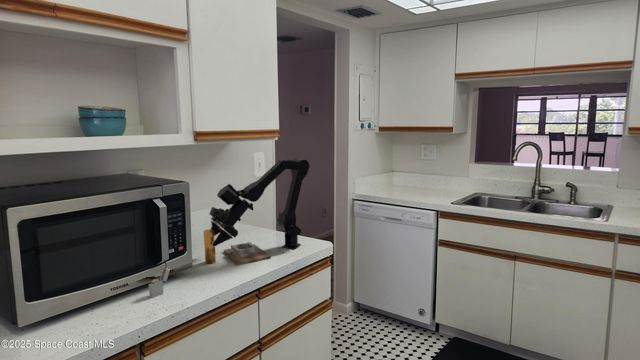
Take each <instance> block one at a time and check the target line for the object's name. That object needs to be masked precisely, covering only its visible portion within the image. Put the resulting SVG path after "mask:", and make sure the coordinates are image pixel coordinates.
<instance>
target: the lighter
mask: <svg viewBox="0 0 640 360" xmlns="http://www.w3.org/2000/svg"><path fill="white" fill-rule="evenodd" d="M169 274H170V269H168V268H164V269H163V272H162V275H161V276H160V277H159V278H155V279H153V280H152V281H151V283H149V284H148V292H149V293H148V294H149V298H151V299H153V298H155V297H159V296H160V295H164V283H163V282H167V280H168V277H169Z"/></svg>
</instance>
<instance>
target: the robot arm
mask: <svg viewBox="0 0 640 360" xmlns="http://www.w3.org/2000/svg"><path fill="white" fill-rule="evenodd" d="M310 167H311V166H310V163H309V161H308V160H307V159H303V158H295V159H293V160H291V159H282V158H281V159H279V160H277V162H276V163H275V164H274V165H272V166H271V167H270V168H269V170H267V172H265V173H264V174H263V175H262V176H261V177H260V178H259V179H258V180H256V181H254V182H252V183H250V184H248V185H247V186H245V187H243V189H239V190H237V189H236V188H234V186H233V185H232V184H231V183H228V184H227V185H225V186H224V187H222V188H220V190H219V191H218V192H217V195H216V196H217V198H219V199H220V200H221V201H222V202H223V203H225V204H226V205H227V206H230V207H229V209H228V208H226V209H223V208H221V207H220V208H217V207H214V206H212V207H211V209H210V211H209V213H208V215H209V216H211V217H210V219H211V220H210V223H211V224H210V225H211V226H210V229H213V230H214V237H215V236H217V237H216V238H215V241H214V243H213V244H212V245H213V246H215V247H216V246H219V245H221V244H223V243H224V242H226V241H228V240H232V239H235V238H236V237H237V236H238V235H239V231H238V229H236V228H235V225H236V223H238V222H241V220H242V216H244V214H245V213H246V212H247V210H248V209H249V210H250V211H254V202H255V203H256V202H257V201H259V199H260V198H261V197H262V196H263V194H264V193H265V190H266V188H268V186H270V184H272V183H273V182H274V181H275V180H276V179H277V178H278V177H280V175H281V174H282V173H283V172H284V171H285V170H290V173H291V180H290V185H289V189H288V193H287V194H288V195H287V199H286V203H285V205H284V206H285V207H284V210H283V211H282V212H278V217H277V219H276V221H277V225H278V227H279V229H281V231H282V232H283V233H284V244H283V245H281V248H283V249H291V250H296V249H297V248H299V247H300V246H302V244H301V243H299V240H298V239H299V236H298V235H301V233H302V229H301V228H300V227H298V225H297V214H296V210H297V206H298V202H299V198H300V193H301V190H302V185H303V180H304V179H305V178H306V176H307V175H308V172H309V170H310Z"/></svg>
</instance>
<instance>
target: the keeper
mask: <svg viewBox="0 0 640 360" xmlns="http://www.w3.org/2000/svg"><path fill="white" fill-rule="evenodd" d="M223 253H224V254H225V255H226V256H227V257H228V258H230V260H232V261H233V262H234V264H236V265H237V266H241V265H245V264H251V263H255V262H260V261H265V260H270V259H271V258H272V257H271V255H270V254H269V253H268V252H266V251H264V250H263V249H262V248H260V247H259V246H257V245H256V244H253V243H252V242H251V241H248V242H243V243H242V242H241V243H238V244H237V243H236V244H231V245H230V248H227V249H223Z"/></svg>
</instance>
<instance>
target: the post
mask: <svg viewBox="0 0 640 360" xmlns="http://www.w3.org/2000/svg"><path fill="white" fill-rule="evenodd" d="M215 240H216V238H215V236H214V230H213V229H211V228H209V229H204V230H203V242H204V260H205V261H204V263H205V264H207V265H211V264H212V265H213V264H215V263H216V260H217V259H216V246H213V245H212V244H213V243H214V241H215Z"/></svg>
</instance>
